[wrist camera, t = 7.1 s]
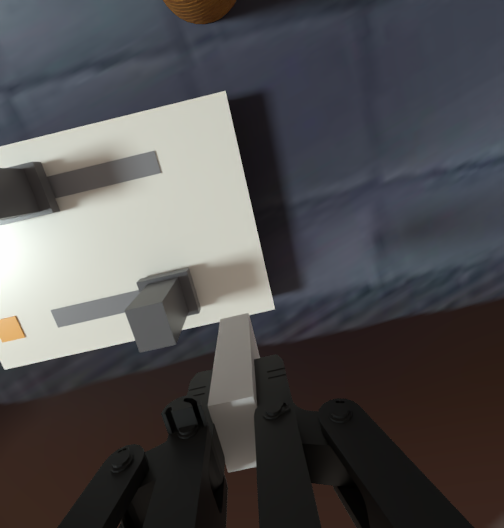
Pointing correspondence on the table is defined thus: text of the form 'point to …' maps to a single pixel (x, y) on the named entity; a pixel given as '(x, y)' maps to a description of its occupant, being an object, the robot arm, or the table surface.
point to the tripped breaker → (162, 308)
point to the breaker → (25, 193)
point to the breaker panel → (128, 229)
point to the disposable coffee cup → (200, 9)
